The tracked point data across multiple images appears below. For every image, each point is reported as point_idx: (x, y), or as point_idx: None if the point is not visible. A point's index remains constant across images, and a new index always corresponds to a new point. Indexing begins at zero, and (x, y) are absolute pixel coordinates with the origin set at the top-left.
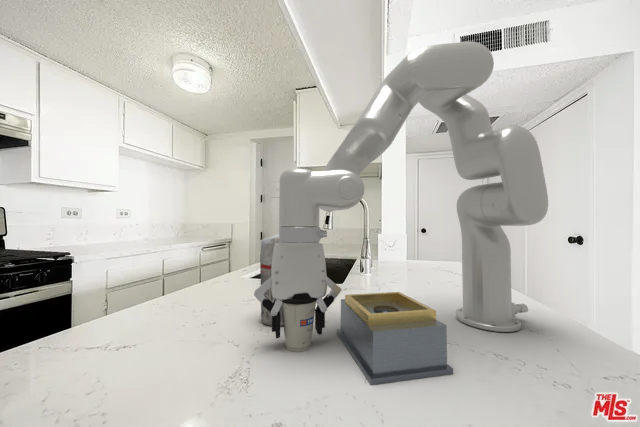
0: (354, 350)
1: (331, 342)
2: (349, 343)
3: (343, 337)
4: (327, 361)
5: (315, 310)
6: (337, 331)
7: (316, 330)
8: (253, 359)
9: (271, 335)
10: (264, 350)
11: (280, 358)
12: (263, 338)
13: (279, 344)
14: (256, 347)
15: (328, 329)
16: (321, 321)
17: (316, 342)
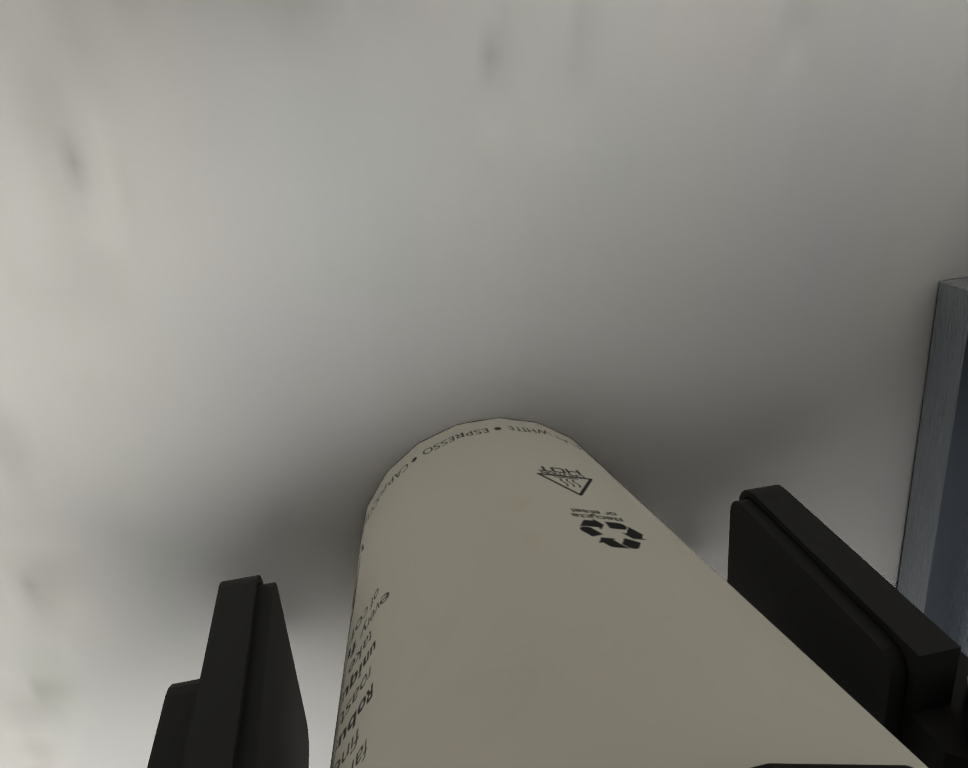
0: None
1: (813, 477)
2: (948, 599)
3: (950, 491)
4: None
5: (873, 674)
6: (958, 306)
7: (731, 575)
8: (80, 764)
9: (145, 278)
10: (145, 625)
11: (328, 738)
12: (52, 360)
13: (288, 510)
14: (34, 571)
15: (890, 152)
16: None
17: (675, 474)
